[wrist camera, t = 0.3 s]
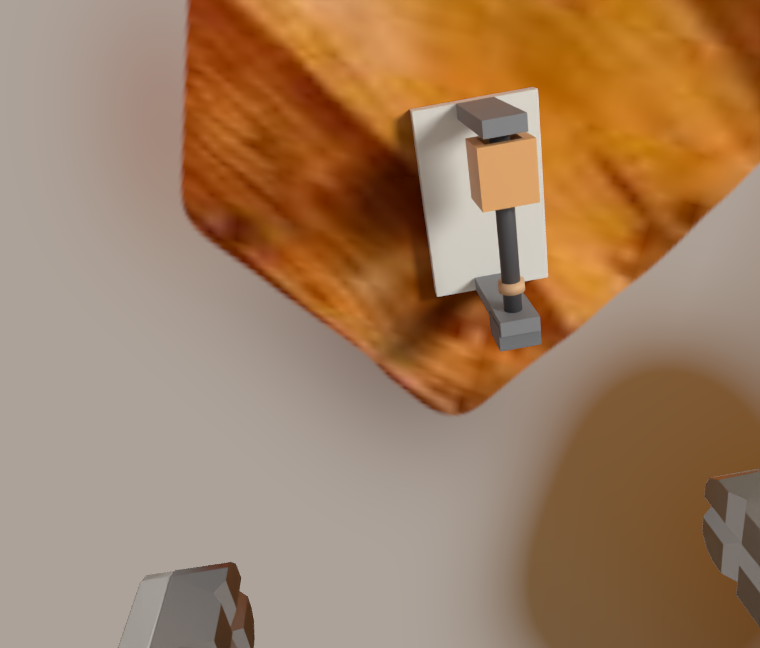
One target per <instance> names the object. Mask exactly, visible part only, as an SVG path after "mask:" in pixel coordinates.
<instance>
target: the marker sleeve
mask: <svg viewBox="0 0 760 648" xmlns="http://www.w3.org/2000/svg"><path fill="white" fill-rule="evenodd" d="M465 141H466V151H467V161H468V170H469V180H470V190H471V198H472V200H473V201H474V202H475V203H476V205H477V206H478V207H479V208H480V210H481V211H482V212H483V213H484V212H489V211H495V210H500V209H506V208H511V207H517V206H522V205H528V204H534V203H539V202H540V193H539V176H538V158H537V141H536V137H534V136H532V135H531V134H529V133H527V132H522V133H517V134H511V135H510V140H509V141H503V142H497V143H492V144H489V139H484V140H483V139H482V138H481V137H479V136H476V137H471V138H465Z"/></svg>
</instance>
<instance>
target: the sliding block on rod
mask: <svg viewBox="0 0 760 648" xmlns="http://www.w3.org/2000/svg"><path fill="white" fill-rule="evenodd" d="M410 115H411V122H412V130H413V137H414V144H415V151H416V159H417V166H418V173H419V180H420V188H421V195H422V202H423V209H424V217H425V224H426V231H427V238H428V246H429V253H430V260H431V267H432V275H433V282H434V289H435V293H436V295H437V297H440V296H446V295H451V294H457V293H462V292H468V291H474V290H476V291H477V293H478V295H479V297H480V298H481V300H482V302H483V304H484V306H485V308H486V310H487V311H488V313H489V316H490V326H491V334H492V336H493V338H494V340H495V342H496V344H497V345H498V347H499V349H500V351H506V350H511V349H517V348H523V347H528V346H534V345H539V344H541V326H540V316H539V314H538V313H537V312H536V310H535V309H534V307H533V306H532V304H531V303H530V302H529V300H528V299H527V297H526V296H525V295H524V293H523V292H524V291H525V281H529V280H535V279H541V278H546V277H548V265H547V247H546V228H545V210H544V192H543V173H542V155H541V136H540V118H539V100H538V89H537V88H534V87H530V88H524V89H519V90H513V91H508V92H502V93H497V94H491V95H486V96H480V97H475V98H469V99H464V100H458V101H453V102H447V103H441V104H436V105H430V106H425V107H419V108H414V109H410ZM522 132H527V133H529V134H531V135H532V136H534V137H536V141H537V158H538V176H539V193H540V202H539V203H534V204H528V205H522V206H517V207H511V208H506V209H500V210H495V211H489V212H484V213H483V212H482V211H481V210H480V208H479V207H478V206H477V205H476V203H475V202H474V201H473V200H472V198H471V190H470V180H469V170H468V161H467V151H466V141H465V138H471V137H476V136H479V137H481V138H482V139H483V140H484V139H489V144H492V143H497V142H503V141H509V140H510V135H511V134H517V133H522Z"/></svg>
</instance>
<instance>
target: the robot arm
mask: <svg viewBox="0 0 760 648" xmlns="http://www.w3.org/2000/svg"><path fill="white" fill-rule="evenodd" d="M705 498H706V499H707V500H708V502H709V503H710V504H711V506H712V507H711V508H710V509H709V510H708V512H707V513H706V514H705V515H704V516H703V536H704V540H705V544H706V548H707V550H708V552H709V554H710V556H711V558H712V560H713V562H714V563H715V565H716V566H717V568H718V569H719V570H720V572H721V573H722V574H724V575H726V576H728V577H730V578H731V579H733V580H735V581H737V582H738V583H737V594H736V595H737V596H738V598H739V599H740V600H741V602H742V603H743V605H744V606H745V607H746V609H747V610H748V612H749V613H750V614H751V616H752V617H753V618H754V620H755V621H756V623H757V624H758V625H759V627H760V469H756V470H750V471H745V472H739V473H734V474H728V475H723V476H718V477H712V478H709V480H708V482H707V483H706V486H705ZM240 583H241V576H240V574H239V571H238V568H237V566H236V564H235V563H232V562H228V563H222V564H215V565H208V566H202V567H196V568H188V569H182V570H175V571H174V572H167V573H159V574H152V575H146V577H145V578H144V579H143V580H142V581H141V582H140V584H139V587H138V590H137V593H136V596H135V599H134V602H133V605H132V608H131V611H130V614H129V617H128V620H127V623H126V626H125V629H124V632H123V634H122V637H121V640H120V643H119V647H118V648H254V619H253V613H252V608H251V605H250V602H249V599H248V596H246V595H245V594H243V593H242V592H240V591H239V589H240Z"/></svg>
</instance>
